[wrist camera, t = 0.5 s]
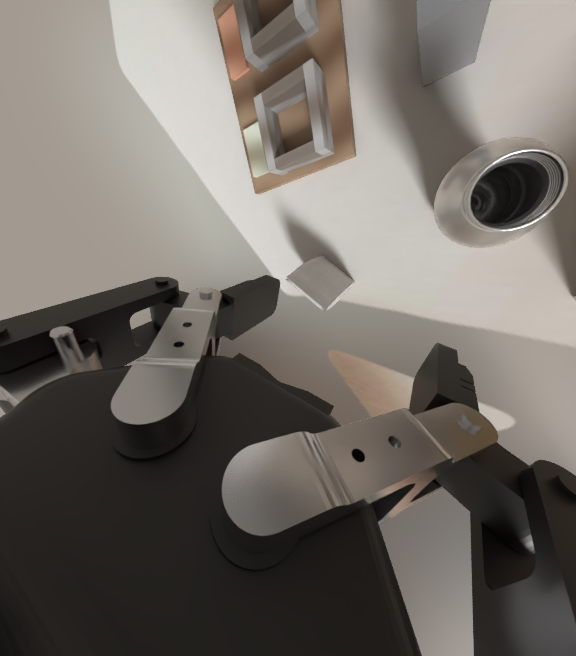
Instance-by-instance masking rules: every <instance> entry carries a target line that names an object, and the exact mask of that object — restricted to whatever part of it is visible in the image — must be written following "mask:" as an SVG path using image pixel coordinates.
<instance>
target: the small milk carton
mask: <svg viewBox="0 0 576 656" xmlns="http://www.w3.org/2000/svg"><path fill="white" fill-rule="evenodd" d="M287 278H288V279H286V280H287V281H288V282H289V283H290V284H292V285H293V286H294V287H295V288H296V289H298V290H299V291H300V292H301V293H302V294H303V295H305V296H306V297H307V298H308V299H310V300H311V301H312V302H313V303H314V304H315V305H317V306H318V307H319V308H320V309H321V310H322V311H326V310H329V309H330V308H331V307H332V306H333V305H334V304H335V303H337V302H338V301H339V300H340V299H341V298H342V297H343V295H344V294H345V293H346V292H347V290H348V289H349V288H350V287H351V285H352V284H353V283H354V282H355V281H353V280H352V279H351V278H350V277H348V276H347V275H346V274H345V273H343V272H342V271H341V270H340V269H338V268H337V267H336V266H335V265H333V264H332V263H331V262H330V261H328V260H327V259H326V258H325V257H323V256H322V255H321V256H319V257H316V258H313V259H311V260H308V261H306V262H305V263H303V264H302V265H301V266H300V267H299V268H297V269H296V270H295V271H294V272H292V273H291V274H290V275H288V276H287Z"/></svg>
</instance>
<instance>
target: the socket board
mask: <svg viewBox="0 0 576 656" xmlns="http://www.w3.org/2000/svg"><path fill="white" fill-rule="evenodd" d="M213 11H214V15H215V19H216V24H217V28H218V32H219V37H220V41H221V46H222V50H223V54H224V59H225V63H226V68H227V72H228V76H229V81H230V85H231V89H232V94H233V98H234V103H235V107H236V111H237V116H238V120H239V125H240V129H241V133H242V138H243V142H244V146H245V151H246V155H247V160H248V164H249V168H250V173H251V177H252V182H253V186H254V190H255V194H261V193H263V192H266V191H268V190H271V189H273V188H276V187H279V186H281V185H284V184H286V183H289V182H291V181H294V180H296V179H299V178H301V177H304V176H307V175H309V174H312V173H314V172H317V171H319V170H322V169H324V168H327V167H329V166H332V165H335V164H337V163H340V162H342V161H345V160H347V159H350V158H352V157H355V156H356V149H355V139H354V129H353V119H352V108H351V98H350V88H349V78H348V68H347V58H346V48H345V37H344V27H343V17H342V7H341V0H220V1H219V2H218V3H217V5H216V6H215V7H214V8H213Z"/></svg>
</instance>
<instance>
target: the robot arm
mask: <svg viewBox="0 0 576 656" xmlns="http://www.w3.org/2000/svg"><path fill="white" fill-rule="evenodd" d="M279 288H280V281H279V280H278V279H276V278H273V277H271V276H268V275H265V276H262V277H260V278H257V279H255V280H249V281H245V282H243V283H241V284H237V285H235V286H232V287H229V288H227V289H224V290H222V291H218V290H216V289H213V288H206V287H205V288H204V287H203V288H196V289H194V290H192V291H191V292H190V293H187V292H183V291H179V287H178V281H177V280H175V279H173V278H169V277H155V278H151V279H147V280H144V281H140V282H137V283H133V284H129V285H126V286H122V287H118V288H115V289H112V290H108V291H104V292H101V293H97V294H94V295H90V296H86V297H83V298H79V299H76V300H72V301H69V302H66V303H62V304H58V305H55V306H51V307H48V308H44V309H40V310H37V311H33V312H30V313H26V314H23V315H19V316H15V317H12V318H9V319H5V320H1V321H0V407H1V408H2V409H3V411H4V412H5V413H6V414H5V415H3V416H2V417H0V656H422V655H421V652H420V649H419V646H418V643H417V640H416V637H415V634H414V631H413V627H412V624H411V621H410V618H409V615H408V612H407V609H406V606H405V603H404V601H403V597H402V594H401V591H400V588H399V585H398V582H397V579H396V576H395V573H394V570H393V567H392V564H391V561H390V558H389V554H388V552H387V548H386V545H385V542H384V540H383V536H382V533H381V530H380V527H379V526H380V525H382V524H384V523H385V522H387V521H388V520H390V519H391V518H393V517H394V516H395V515H397V514H398V513H399V512H401V511H402V510H404V509H406V508H408V507H409V506H411V505H413V504H415V503H417V502H419V501H421V500H422V499H424V498H426V497H428V496H430V495H432V494H434V493H436V492H437V491H439V490H441V489H443V488H444V489H446V490H447V491H448V492H449V493H450V494H451V495H452V496H453V497H454V498H456V499H457V500H458V501H459V502H460V503H461V504H462V505H463V506H464V507H466V508H467V509H468V510H469V511H470V520H471V556H472V557H471V560H472V596H473V598H472V599H473V636H474V656H576V476H575V475H573V474H572V473H571V472H569V471H568V470H566V469H564V468H562V467H561V466H559V465H557V464H555V463H552V462H549V461H545V460H538V461H535V462H534V463H533V464H531V465H530V466H529V465H527V464H526V463H524V462H523V461H522V460H520V459H519V458H517V457H516V456H514V455H513V454H511V453H510V452H509V451H507V450H506V449H504V448H503V447H502V446H501V445H499V444H498V443H497V440H498V434H497V431H496V429H495V428H494V426H493V425H492V424H491V422H490V421H489V420H488V419H487V418H486V417H484V416H483V415H482V414H481V413H479V408H478V402H477V397H476V393H475V386H474V380H473V376H472V374H471V373H470V372H469V370H468V369H467V368H466V366H463V365H461V364H459V363H458V355H457V350H455V349H452V348H450V347H447V346H445V345H442V344H439V343H436V344H435V346H434V347H433V349H432V350H431V352H430V353H429V355H428V356H427V358H426V359H425V361H424V362H423V364H422V366H421V367H420V369H419V370H418V372H417V374H416V376H415V379H414V382H413V389H412V395H411V401H410V407H409V410H408V409H407V408H402V409H398V410H395V411H392V412H388V413H385V414H381V415H378V416H375V417H371V418H368V419H364V420H361V421H358V422H354V423H351V424H347V425H344V426H341V425H340V424H339V423H338V422H337V421H336V420H335V418H333V417H332V416H331V415H330V414H331V412H332V409H333V407H334V406H333V405H331V404H329V403H327V402H326V401H324V400H322V399H320V398H318V397H317V396H315V395H313V394H311V393H310V392H308V391H305V390H302V389H299V388H296V387H293V386H290V385H287V384H284V383H281V382H279V381H277V380H276V379H275V378H274V377H273V376H272V375H271V374H270V373H269V372H268V371H267V370H265V369H264V368H263V367H262V366H261V365H260V364H258V363H256V362H254V361H253V360H251V359H249V358H247V357H245V356H244V355H242V354H240V353H239V354H238V355H236V356H235V357H234V358H229V357H225V356H218V353H219V348H220V343H221V337H222V336H225V337H227V338H228V339H230V340H234V339H235V338H237V337H238V336H240V335H241V334H243V333H244V332H246V331H248V330H249V329H250V328H252V327H254V326H256V325H257V324H259V323H260V322H262V321H263V320H265V319H266V318H268V317H269V316H271V315H272V314H273V313H274V311H275V309H276V305H277V299H278V294H279ZM148 307H150V313H151V319H152V321H151V322H148V323H146V324H144V325H141V326H139V327H137V328H134V329H132V330H131V327H130V318H131V316H132V315H133V314H134V313H136V312H138V311H140V310H143V309H146V308H148ZM144 354H146V356H145V357H144V358H143V359H142V360H137V361H136V362H135V363H134V364H133V365H130V366H125V365H127V364H128V363H130V362H132V361H134V360H135V359H137V358H139V357H141V356H143V355H144Z"/></svg>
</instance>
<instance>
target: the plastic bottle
mask: <svg viewBox="0 0 576 656" xmlns="http://www.w3.org/2000/svg"><path fill="white" fill-rule="evenodd" d="M568 180H569V173H568V168H567V165H566V163H565V161H564V160H563V159H562V158H561V156H559V155H558V154H556V153H555V152H554V150H553V149H552V148H550V147H549V146H547V145H546V144H544V143H543V142H540V141H537V140H534V139H531V138H522V137H514V138H504V139H500V140H496V141H493V142H490V143H487V144H485V145H483V146H481V147H478V148H476V149H475V150H473V151H472V152H470V153H468V154H467V155H465V156H464V157H463V158H462V159H461V160H459V161H458V162H457V163H456V164H455V165H454V166H453V167H452V168H451V169H450V171H449V172H448V173H447V174H446V176H445V177H444V179H443V180H442V182H441V184H440V186H439V188H438V191H437V193H436V197H435V201H434V215H435V220H436V223H437V225H438V227H439V229H440V230H441V231H442V233H443V234H444V235H445V236H446V237H448V238H449V239H450V240H451V241H453V242H456V243H458V244H460V245H463V246H468V247H476V248H484V247H494V246H498V245H502V244H505V243H508V242H510V241H513V240H515V239H518V238H519V237H521V236H523V235H525V234H526V233H528V232H530V231H531V230H532V229H533V228H535V227H536V226H537V225H539V224H540V223H541V222H542V221H543V220H544V219H545V218H546V217H547V216H548V214H549V213H550V212H551V211H552V210H553V209H554V208H555V206H556V205H557V204H558V203H559V202H560V200H561V199H562V197H563V196H564V193H565V191H566V189H567V186H568Z"/></svg>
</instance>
